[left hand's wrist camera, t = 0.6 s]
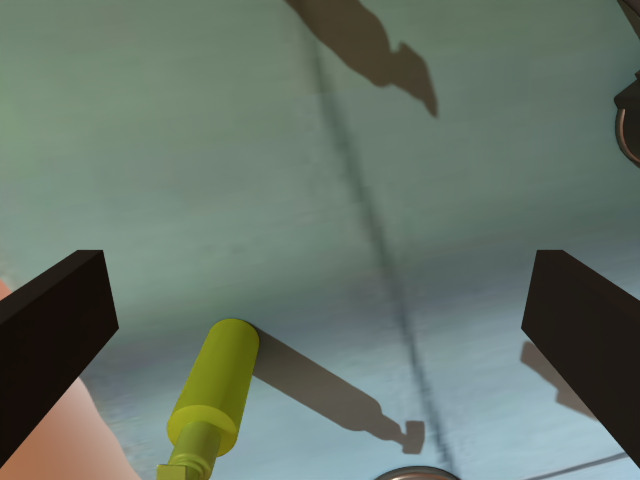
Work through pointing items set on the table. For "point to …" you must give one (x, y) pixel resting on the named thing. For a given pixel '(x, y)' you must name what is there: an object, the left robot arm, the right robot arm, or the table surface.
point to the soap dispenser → (211, 402)
